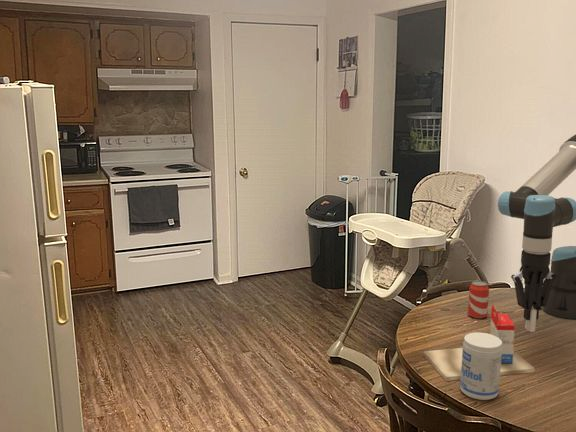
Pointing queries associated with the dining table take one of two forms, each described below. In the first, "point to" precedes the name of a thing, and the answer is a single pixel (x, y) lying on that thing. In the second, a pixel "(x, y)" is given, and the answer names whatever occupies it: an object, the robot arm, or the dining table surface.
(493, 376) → the supplement tub
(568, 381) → the dining table surface
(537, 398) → the dining table surface
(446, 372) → the open book
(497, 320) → the ink box
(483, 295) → the beverage can
